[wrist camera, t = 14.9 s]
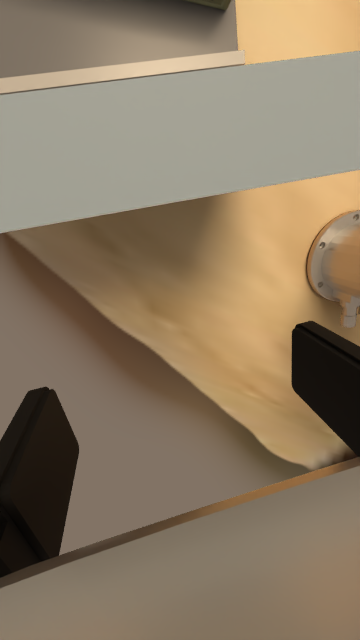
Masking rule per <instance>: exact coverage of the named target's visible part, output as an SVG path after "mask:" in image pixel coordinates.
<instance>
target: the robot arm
mask: <svg viewBox="0 0 360 640" xmlns="http://www.w3.org/2000/svg"><path fill="white" fill-rule="evenodd" d="M307 274H308V278H309V282H310V284H311V286H312V288H313V289H314V290H315V292H316V293H317V294H319V295H320V296H322V297H324V298H326V299H328V300H332V301H340V306H342V307H343V308H342V313H341V320H340V325H341V326H343V327H354V326H355V325H356V316H357V314H356V309H357V307H359V312H358V314H360V210H357V211H350V212H347V213H344V214H341V215H340V216H338V217H336V218H334V219H333V220H332V221H331V222H329V223H328V224H327V225H326V226H325V227H324V228H323V229H322V231H321V232H320V233H319V234H318V236H317V238H316V239H315V241H314V243H313V245H312V247H311V250H310V253H309V257H308V263H307ZM292 387H293V389H294V391H295V392H296V393H297V394H298V395H299V396H300V397H301V398H302V399H303V400H304V401H305V402H306V403H307V404H308V405H309V407H310V408H311V409H312V410H313V411H314V412H315V413H316V414H317V415H318V416H319V417H320V418H321V419H322V420H323V421H324V422H325V423H326V424H327V425H328V426H329V427H330V428H331V429H332V430H333V431H334V432H335V433H336V434H337V435H338V436H339V437H340V438H341V439H342V440H343V441H344V442H345V443H346V444H347V445H348V446H349V447H350V448H351V449H352V450H353V451H354V452H355V453H356V454H357V455H358V456H359V457H357V458H354V459H351V460H348V461H345V462H341V463H338V464H335V465H332V466H329V467H326V468H323V469H319V470H316V471H313V472H310V473H307V474H304V475H301V476H297V477H294V478H291V479H288V480H285V481H282V482H279V483H276V484H273V485H270V486H267V487H263V488H260V489H257V490H254V491H251V492H248V493H245V494H242V495H239V496H236V497H233V498H230V499H227V500H224V501H221V502H217V503H214V504H211V505H208V506H205V507H202V508H199V509H196V510H193V511H190V512H187V513H184V514H181V515H178V516H175V517H172V518H169V519H166V520H163V521H160V522H157V523H154V524H151V525H148V526H145V527H142V528H139V529H136V530H133V531H130V532H126V533H123V534H121V535H117V536H114V537H111V538H109V539H105V540H103V541H100V542H96V543H94V544H91V545H88V546H85V547H82V548H79V549H76V550H74V551H71V552H68V553H65V554H62V555H60V556H59V552H60V547H61V542H62V536H63V532H64V526H65V521H66V516H67V511H68V506H69V501H70V496H71V491H72V486H73V480H74V475H75V470H76V464H77V459H78V454H79V445H78V442H77V440H76V437H75V435H74V433H73V431H72V428H71V426H70V424H69V421H68V419H67V417H66V415H65V412H64V410H63V408H62V406H61V403H60V401H59V399H58V397H57V394H56V392H55V391H54V390H53V389H51V390H49V388H47V387H43V388H39V389H34V390H30V391H28V393H27V394H26V396H25V398H24V399H23V402H22V403H21V405H20V407H19V409H18V410H17V412H16V414H15V416H14V417H13V419H12V421H11V423H10V424H9V426H8V428H7V430H6V432H5V434H4V435H3V437H2V439H1V441H0V640H360V347H359V346H357V345H355V344H354V343H352V342H350V341H348V340H346V339H344V338H343V337H341V336H339V335H337V334H335V333H334V332H332V331H330V330H328V329H326V328H324V327H323V326H321V325H319V324H317V323H315V322H313V321H308V322H304V323H300V324H297V325H296V327H295V329H293V331H292Z"/></svg>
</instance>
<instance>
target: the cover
mask: <svg viewBox="0 0 360 640" xmlns="http://www.w3.org/2000/svg"><path fill="white" fill-rule="evenodd" d="M356 170H360V51H355V52H347V53H338V54H330V55H322V56H314V57H306V58H298V59H290V60H282V61H273V62H265V63H257V64H249V65H241V66H233V67H225V68H217V69H208V70H200V71H192V72H184V73H176V74H168V75H160V76H152V77H143V78H135V79H127V80H119V81H111V82H103V83H95V84H87V85H79V86H70V87H62V88H54V89H46V90H38V91H30V92H22V93H14V94H5V95H0V233H4V232H10V231H15V230H21V229H27V228H32V227H38V226H44V225H49V224H55V223H61V222H66V221H72V220H78V219H83V218H89V217H95V216H100V215H106V214H112V213H117V212H123V211H129V210H134V209H140V208H146V207H151V206H157V205H163V204H168V203H174V202H180V201H185V200H191V199H197V198H202V197H208V196H214V195H219V194H225V193H231V192H236V191H242V190H248V189H253V188H259V187H265V186H270V185H276V184H282V183H288V182H293V181H299V180H305V179H310V178H316V177H322V176H327V175H333V174H339V173H344V172H350V171H356Z"/></svg>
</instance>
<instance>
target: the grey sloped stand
mask: <svg viewBox="0 0 360 640" xmlns="http://www.w3.org/2000/svg"><path fill="white" fill-rule="evenodd" d="M244 64H245V50H239V51H238V42H237V24H236V7H235V0H231V2H230V4H229V7H228V8H227V10H222V9H218V8H214V7H209V6H205V5H201V4H197V3H192V2H188V1H184V0H0V95H5V94H14V93H22V92H30V91H38V90H46V89H54V88H62V87H70V86H79V85H87V84H95V83H103V82H111V81H119V80H127V79H135V78H143V77H152V76H160V75H168V74H176V73H184V72H192V71H200V70H208V69H217V68H225V67H233V66H241V65H244Z"/></svg>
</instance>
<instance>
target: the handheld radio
mask: <svg viewBox="0 0 360 640" xmlns="http://www.w3.org/2000/svg"><path fill="white" fill-rule="evenodd" d="M184 1H188V2H192V3H197V4H201V5H205V6H209V7H214V8H218V9H222V10H227V8H228V7H229V4H230V2H231V0H184Z"/></svg>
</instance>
